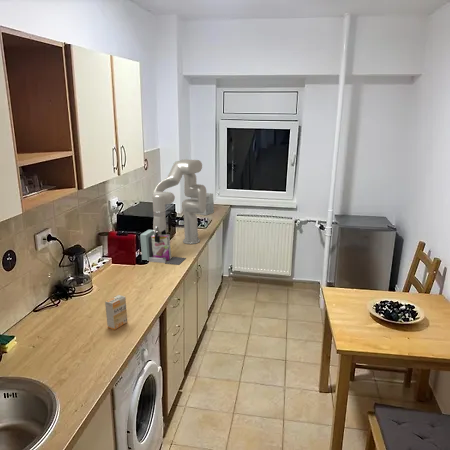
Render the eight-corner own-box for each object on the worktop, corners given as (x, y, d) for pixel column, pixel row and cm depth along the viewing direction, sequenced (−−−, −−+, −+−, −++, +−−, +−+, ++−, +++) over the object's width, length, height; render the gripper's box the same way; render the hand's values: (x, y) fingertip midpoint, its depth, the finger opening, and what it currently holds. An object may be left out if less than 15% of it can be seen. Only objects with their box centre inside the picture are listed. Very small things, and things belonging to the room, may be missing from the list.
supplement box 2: (214, 212, 386) (213, 193, 381) (206, 215, 375) (205, 196, 370) (199, 210, 394) (198, 191, 389) (190, 213, 384) (190, 194, 379)
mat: (172, 257, 271) (172, 256, 271) (186, 258, 269) (186, 257, 269) (165, 263, 260) (165, 263, 260) (179, 265, 258) (179, 264, 258)
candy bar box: (153, 261, 265) (150, 236, 261) (155, 258, 270) (152, 234, 266) (170, 260, 264) (167, 236, 260) (171, 258, 269) (169, 233, 264)
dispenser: (150, 255, 276) (148, 229, 271) (171, 257, 271) (170, 231, 267) (142, 261, 265) (140, 234, 260) (164, 263, 260) (162, 236, 255)
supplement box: (114, 330, 183) (112, 303, 179) (107, 327, 185) (104, 301, 182) (128, 322, 189) (125, 296, 186) (120, 319, 192) (118, 294, 188)
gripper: (159, 210, 267) (161, 235, 272) (147, 216, 251) (149, 243, 256) (170, 211, 265) (171, 236, 270) (159, 217, 249) (160, 244, 254)
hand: (160, 239), depth 263 cm, fingers open, 9 cm apart
